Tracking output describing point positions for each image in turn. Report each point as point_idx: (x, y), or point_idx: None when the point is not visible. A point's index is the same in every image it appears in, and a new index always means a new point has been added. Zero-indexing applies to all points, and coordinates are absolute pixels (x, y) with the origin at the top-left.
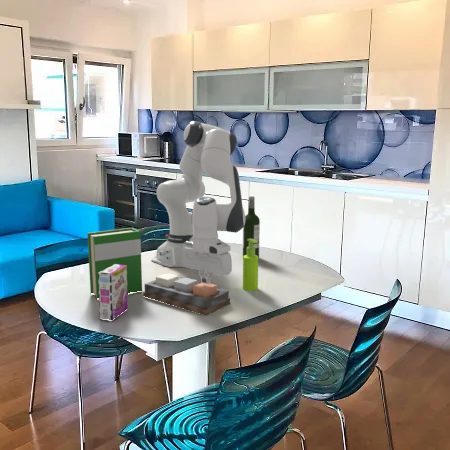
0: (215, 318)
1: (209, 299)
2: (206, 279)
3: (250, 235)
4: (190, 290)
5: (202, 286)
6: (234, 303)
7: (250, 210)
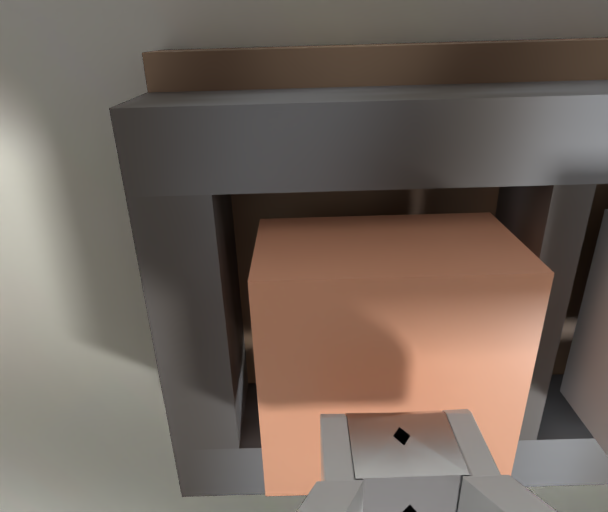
0: (33, 56)
1: (137, 168)
2: (345, 475)
3: None
4: (601, 293)
5: (404, 351)
6: None
7: None
